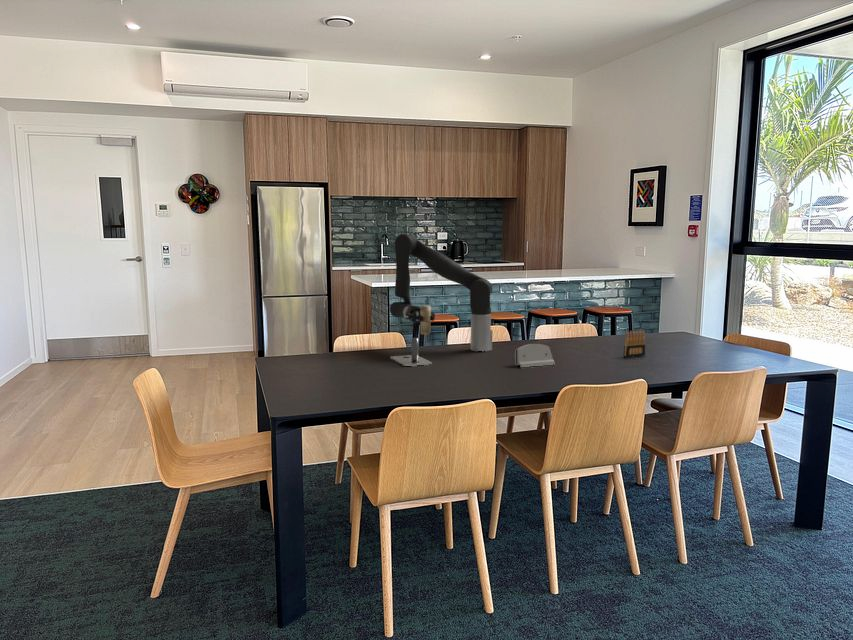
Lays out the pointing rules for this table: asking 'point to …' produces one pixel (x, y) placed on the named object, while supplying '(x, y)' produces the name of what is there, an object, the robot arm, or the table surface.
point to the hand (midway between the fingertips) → (427, 318)
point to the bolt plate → (408, 361)
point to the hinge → (533, 355)
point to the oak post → (425, 320)
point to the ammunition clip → (634, 344)
